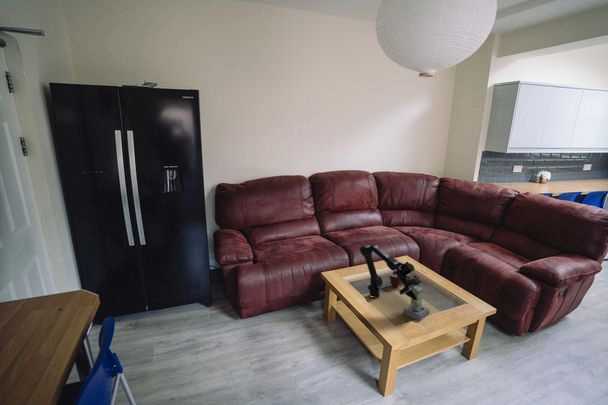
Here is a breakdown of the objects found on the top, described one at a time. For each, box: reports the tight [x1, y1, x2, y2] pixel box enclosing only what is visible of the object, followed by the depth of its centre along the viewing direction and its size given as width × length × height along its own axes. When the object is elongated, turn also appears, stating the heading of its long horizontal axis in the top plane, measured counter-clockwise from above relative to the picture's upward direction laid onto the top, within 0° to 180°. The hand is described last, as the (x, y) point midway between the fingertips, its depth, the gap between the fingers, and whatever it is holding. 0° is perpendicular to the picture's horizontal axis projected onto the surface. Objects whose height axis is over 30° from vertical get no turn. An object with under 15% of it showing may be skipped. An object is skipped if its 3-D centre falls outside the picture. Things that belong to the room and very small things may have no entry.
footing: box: [402, 303, 431, 322], centre depth 190 cm, size 12×12×4 cm
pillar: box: [410, 286, 424, 311], centre depth 189 cm, size 5×5×14 cm
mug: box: [389, 272, 403, 289], centre depth 228 cm, size 10×8×10 cm
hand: (418, 298), depth 188 cm, fingers closed on pillar, 5 cm apart
